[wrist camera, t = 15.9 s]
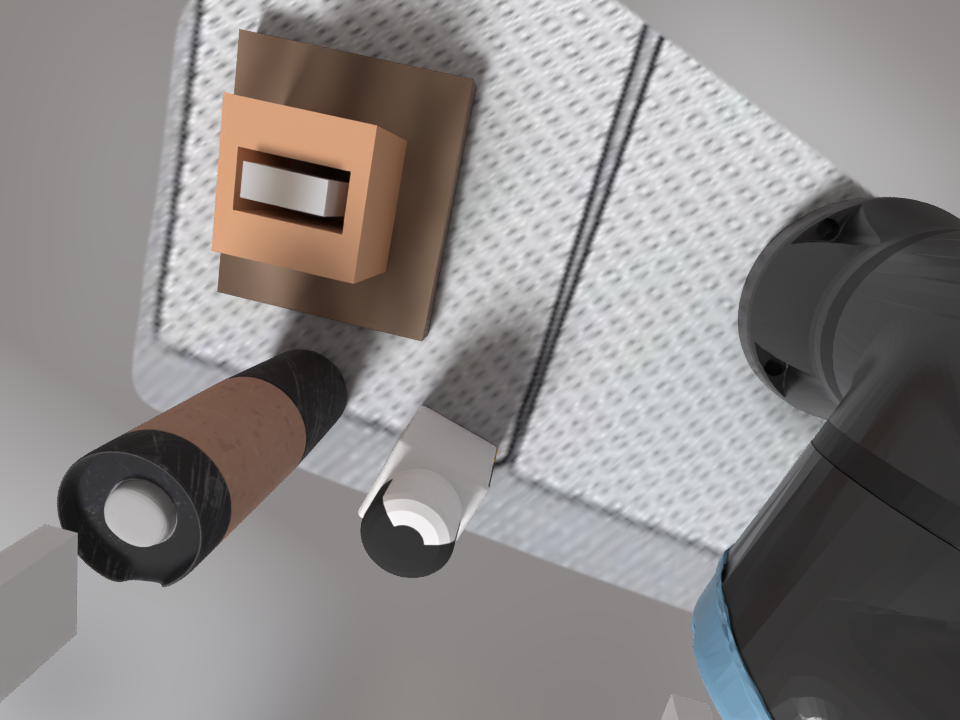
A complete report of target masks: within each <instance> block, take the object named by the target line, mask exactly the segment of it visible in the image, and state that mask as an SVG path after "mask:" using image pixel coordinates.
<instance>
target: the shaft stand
mask: <svg viewBox="0 0 960 720" xmlns="http://www.w3.org/2000/svg"><path fill="white" fill-rule="evenodd" d="M475 90H476V84H475V83H474V81H473V79H469V78H465V77H460V76H455V75H451V74H446V73H442V72H437V71H432V70H428V69H423V68H418V67H414V66H409V65H404V64H400V63H395V62H390V61H386V60H381V59H376V58H372V57H367V56H362V55H358V54H353V53H348V52H344V51H339V50H334V49H330V48H325V47H320V46H316V45H311V44H306V43H302V42H297V41H292V40H288V39H283V38H279V37H274V36H269V35H265V34H260V33H255V32H251V31H246V30H241V29H239V41H238V53H237V65H236V77H235V89H234V95H238V96H243V97H248V98H252V99H257V100H261V101H266V102H271V103H275V104H280V105H285V106H289V107H294V108H298V109H303V110H308V111H312V112H317V113H321V114H326V115H331V116H335V117H340V118H345V119H349V120H354V121H358V122H363V123H368V124H372V125H377V126H379V127H381V128H383V129H385V130H387V131H389V132H391V133H393V134H395V135H397V136H398V137H400V138H402V139H404V140H406V141H407V146H406V152H405V159H404V165H403V171H402V177H401V183H400V189H399V195H398V201H397V207H396V213H395V219H394V226H393V232H392V238H391V244H390V250H389V256H388V262H387V268H386V272H384V273H381V274H378V275H376V276H373V277H370V278H368V279H365V280H362V281H360V282H357V283H354V284H352V283H348V282H344V281H339V280H335V279H331V278H326V277H322V276H318V275H314V274H309V273H305V272H301V271H296V270H292V269H288V268H284V267H279V266H275V265H271V264H266V263H262V262H258V261H254V260H249V259H245V258H241V257H236V256H232V255H228V254H224V253H221V256H220V268H219V280H218V292H220V293H225V294H229V295H233V296H237V297H241V298H245V299H249V300H253V301H258V302H262V303H266V304H270V305H274V306H278V307H282V308H287V309H291V310H295V311H299V312H303V313H307V314H311V315H315V316H320V317H324V318H328V319H332V320H336V321H340V322H344V323H348V324H353V325H357V326H361V327H365V328H369V329H373V330H377V331H382V332H386V333H390V334H394V335H398V336H402V337H406V338H410V339H415V340H419V341H423V340H424V339H425V337H426V336H427V335H428V330H429V325H430V320H431V315H432V310H433V304H434V299H435V294H436V289H437V284H438V279H439V274H440V269H441V264H442V259H443V253H444V248H445V243H446V238H447V233H448V228H449V223H450V218H451V213H452V207H453V202H454V197H455V192H456V187H457V182H458V177H459V172H460V167H461V161H462V156H463V151H464V146H465V141H466V136H467V131H468V126H469V121H470V116H471V110H472V105H473V100H474V95H475ZM350 175H351V171H346V170H342V169H337V168H333V167H328V166H324V165H319V164H315V163H310V162H306V161H301V160H297V159H292V158H291V167H290V169H288V168H282V167H276V166H271V165H265V164H259V163H253V162H247V161H243V170H242V181H241V192H240V197H241V198H246V199H250V200H254V201H259V202H263V203H267V204H272V205H276V206H280V207H285V208H286V210H288V211H292V212H296V213H301V214H305V215H310V216H314V217H318V218H323V219H327V220H332V221H336V222H340V223H344V218H345V211H346V204H347V197H348V190H349V182H350Z"/></svg>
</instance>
